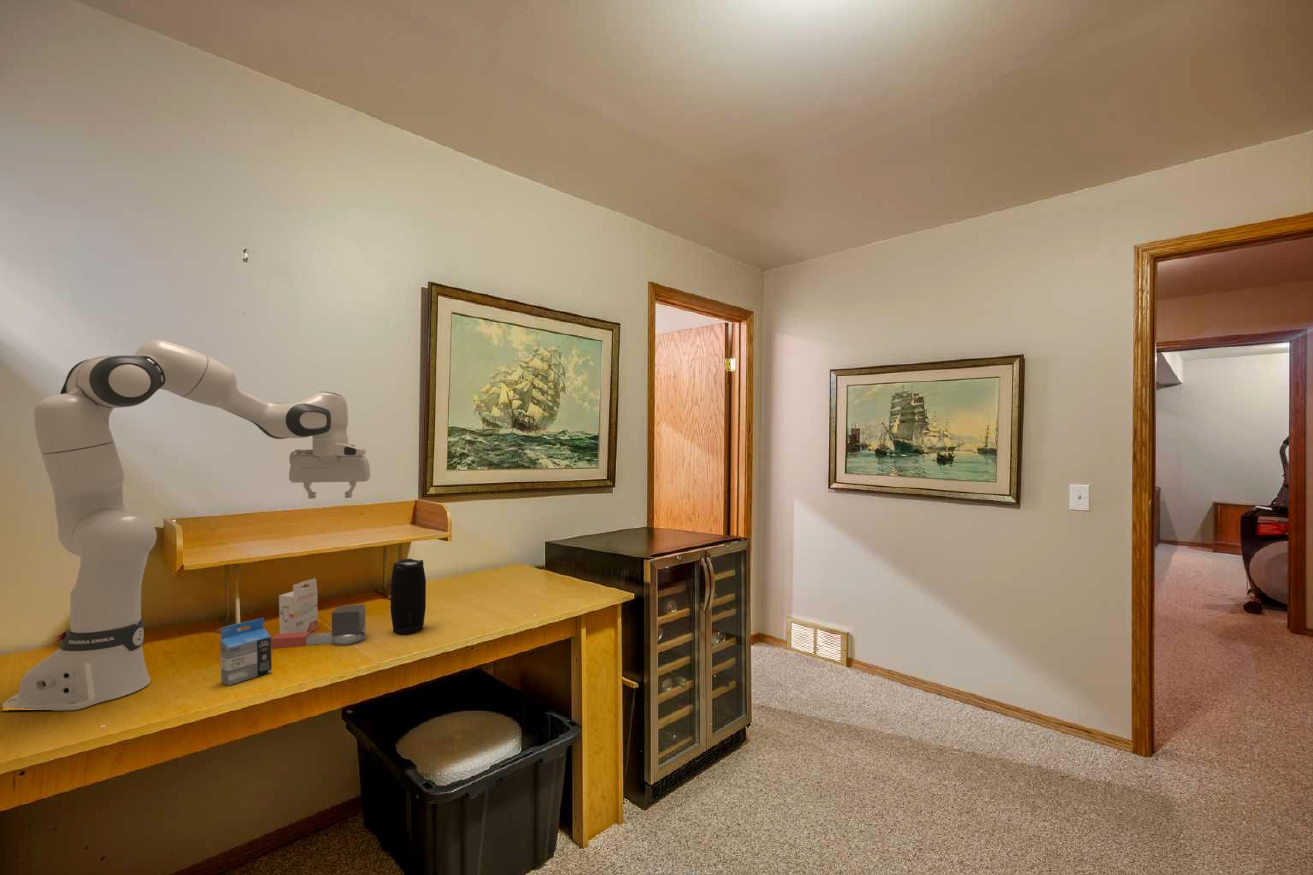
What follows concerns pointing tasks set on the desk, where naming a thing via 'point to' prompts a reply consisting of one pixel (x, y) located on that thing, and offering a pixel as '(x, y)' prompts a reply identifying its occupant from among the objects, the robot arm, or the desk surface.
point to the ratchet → (315, 639)
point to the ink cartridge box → (299, 609)
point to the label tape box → (245, 652)
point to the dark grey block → (348, 620)
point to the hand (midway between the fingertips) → (330, 498)
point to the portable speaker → (408, 596)
